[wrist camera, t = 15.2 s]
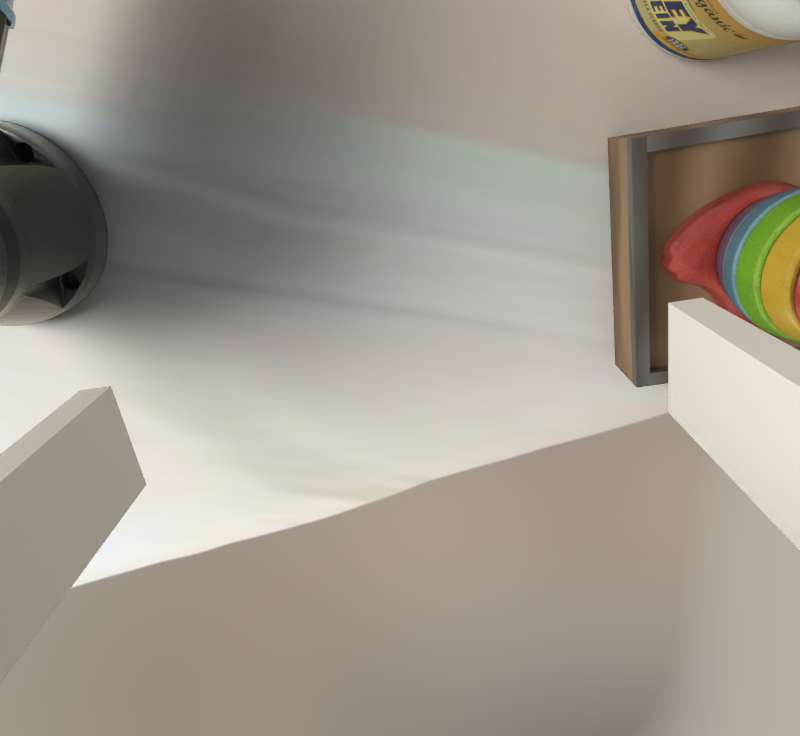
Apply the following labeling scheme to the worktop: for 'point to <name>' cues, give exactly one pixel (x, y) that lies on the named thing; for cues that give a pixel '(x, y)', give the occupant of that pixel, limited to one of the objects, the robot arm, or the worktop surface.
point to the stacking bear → (745, 255)
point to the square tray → (679, 215)
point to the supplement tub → (716, 25)
